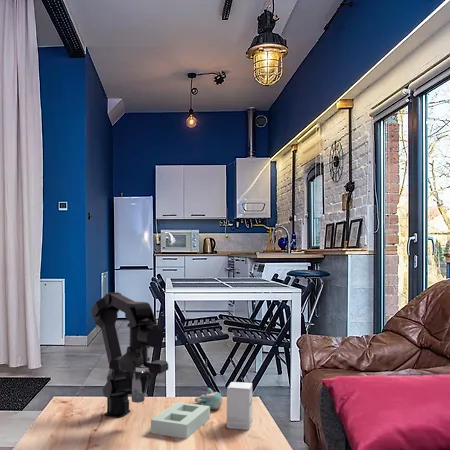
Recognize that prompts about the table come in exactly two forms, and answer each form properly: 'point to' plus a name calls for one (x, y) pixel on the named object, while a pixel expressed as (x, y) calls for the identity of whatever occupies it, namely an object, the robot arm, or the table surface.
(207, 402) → the stuffed animal
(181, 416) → the socket board
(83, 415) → the table surface
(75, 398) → the table surface
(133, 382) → the steel pin
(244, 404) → the supplement box
